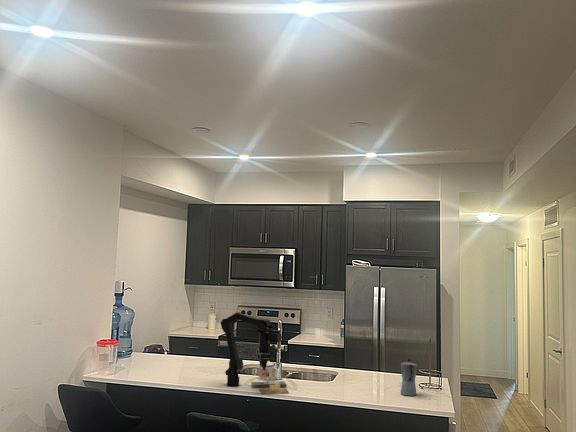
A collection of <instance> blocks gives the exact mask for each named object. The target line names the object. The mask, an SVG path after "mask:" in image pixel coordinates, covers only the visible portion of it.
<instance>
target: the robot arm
mask: <svg viewBox="0 0 576 432" xmlns="http://www.w3.org/2000/svg"><path fill="white" fill-rule="evenodd" d="M239 321H241V322H245V323H248V324H250V325H254V326H255V327H256V328H257V330H256V331H255V333H257V334H259V335H258V336H259V337H258V347H257V348H256V350H255V354H256V357H257V359H258V362H259V364H260V365H259V367H260V366H261V367H262V368H263V370H265V369H266V365H267V362H268V361H270V360H271V359H272V354H275V355H278V352H279V348H278V347H276V345H275V344H270V343H276V344H277V343H279V344H280V343H281V342H282V339H283V335H282V333H281V330H276V329H274V326H273V325H272V322H271V320H270V319H269V318H260V317H259V318H258V317H254V316H251V315H248V314H246V313H245V314H244V313H242V312H240V311H239V312H235V313H233V314H232V315H230V316H228V317H226V318H223V319H222V320H221V321H220V326H221V329H222V331H223V333H224V334H225V337H226V343H227V349H228V355H229V361H228V368H227V369H226V370H225V371H224V372H225V376H226V379H227V380H226V386H227V387H239V385H240V376H239V374H241V371H242V370H243V369H244V363H243V358H242V357H241V358H240V356H239V354H238V353H239V352H238V348H237V344H236V339H235V327H236V326H235V324H236V323H237V322H239ZM271 353H272V354H271Z"/></svg>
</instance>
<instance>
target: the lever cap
mask: <svg viewBox="0 0 576 432" xmlns="http://www.w3.org/2000/svg"><path fill="white" fill-rule="evenodd" d="M267 389H268V390H269V392H280V385H279V383H268V388H267Z"/></svg>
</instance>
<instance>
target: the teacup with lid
mask: <svg viewBox="0 0 576 432" xmlns="http://www.w3.org/2000/svg"><path fill="white" fill-rule="evenodd" d="M274 370H275V373H274ZM277 373H278V369H277V368H276V367H274V363H273V362H271V361H270V360H268V362H267V365H266V369H265V370H263V368H262V367H261V366H260V363H259V374H258V375H259V376H258V377H259V379H260V380H264V381H267V378H269V380H273V378H274V376H276V375H277Z"/></svg>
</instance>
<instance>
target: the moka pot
mask: <svg viewBox="0 0 576 432" xmlns="http://www.w3.org/2000/svg"><path fill="white" fill-rule="evenodd" d="M417 368H418V364H417V363H414V362H411V359H410V358H409V359H408V358H407V361H405V362H404V361H403V362H401V363H400V370H401V371H400V372H401V377H402V381H401V387H400V388H401V389H400V395H403V396H411V397H414V396H417V388H416V376H417Z"/></svg>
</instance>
